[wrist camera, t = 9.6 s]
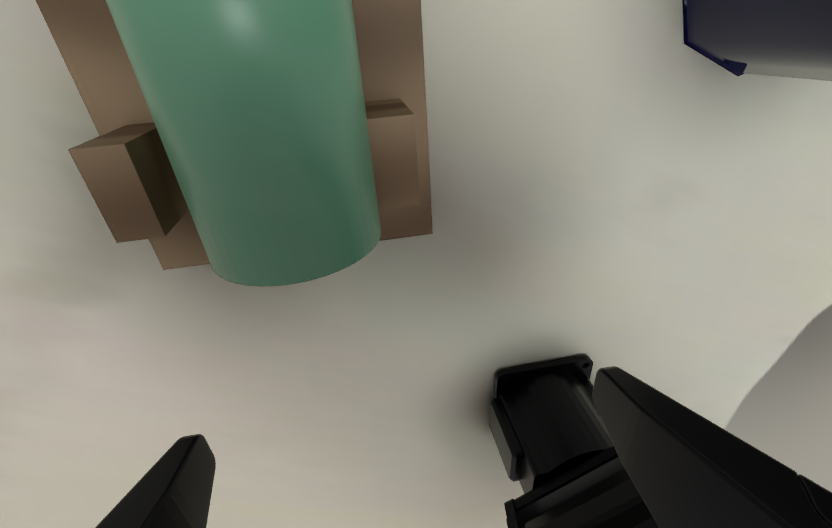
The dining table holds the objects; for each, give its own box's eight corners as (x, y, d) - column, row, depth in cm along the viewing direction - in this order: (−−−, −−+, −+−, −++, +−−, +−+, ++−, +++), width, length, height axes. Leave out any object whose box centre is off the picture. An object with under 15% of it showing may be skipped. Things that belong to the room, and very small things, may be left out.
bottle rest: (-145, -442, 9) (-533, -820, 5) (392, -420, 10) (424, -704, 6) (172, 258, 18) (125, 319, 14) (428, 224, 19) (449, 272, 15)
